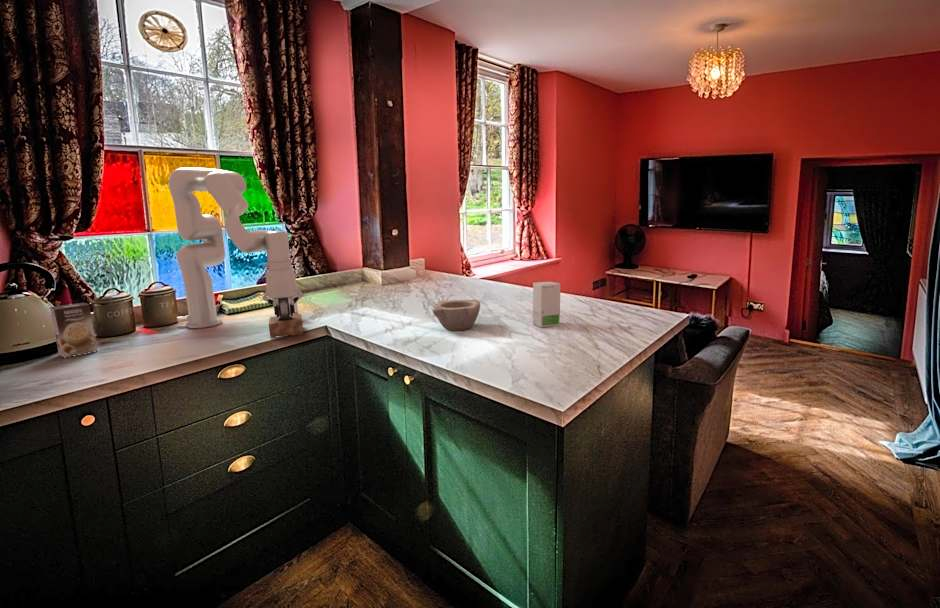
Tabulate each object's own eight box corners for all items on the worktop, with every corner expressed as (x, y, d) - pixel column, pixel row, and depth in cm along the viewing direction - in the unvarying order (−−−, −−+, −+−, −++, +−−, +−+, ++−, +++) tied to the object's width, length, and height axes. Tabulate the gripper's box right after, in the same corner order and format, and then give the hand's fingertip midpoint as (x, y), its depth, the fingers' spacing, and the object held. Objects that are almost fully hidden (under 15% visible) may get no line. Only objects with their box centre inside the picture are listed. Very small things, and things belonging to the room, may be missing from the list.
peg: (280, 326, 178) (277, 299, 175) (280, 324, 181) (277, 297, 179) (291, 325, 179) (288, 298, 177) (291, 323, 182) (288, 296, 180)
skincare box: (540, 328, 177) (540, 285, 173) (531, 324, 183) (531, 282, 179) (560, 325, 180) (561, 283, 176) (551, 321, 186) (551, 280, 182)
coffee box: (63, 359, 156) (53, 309, 152) (58, 355, 160) (48, 307, 156) (98, 351, 163) (89, 304, 159) (93, 348, 167) (83, 301, 163)
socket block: (270, 337, 174) (268, 324, 173) (271, 330, 184) (270, 317, 183) (303, 334, 177) (301, 320, 176) (302, 326, 187) (301, 314, 186)
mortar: (439, 321, 190) (438, 298, 188) (483, 321, 188) (482, 298, 186) (430, 334, 174) (429, 308, 172) (478, 334, 171) (477, 308, 169)
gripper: (253, 269, 169) (259, 320, 173) (304, 265, 174) (309, 315, 178) (254, 266, 176) (260, 316, 180) (304, 263, 181) (309, 311, 185)
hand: (285, 315), depth 179 cm, fingers open, 4 cm apart
